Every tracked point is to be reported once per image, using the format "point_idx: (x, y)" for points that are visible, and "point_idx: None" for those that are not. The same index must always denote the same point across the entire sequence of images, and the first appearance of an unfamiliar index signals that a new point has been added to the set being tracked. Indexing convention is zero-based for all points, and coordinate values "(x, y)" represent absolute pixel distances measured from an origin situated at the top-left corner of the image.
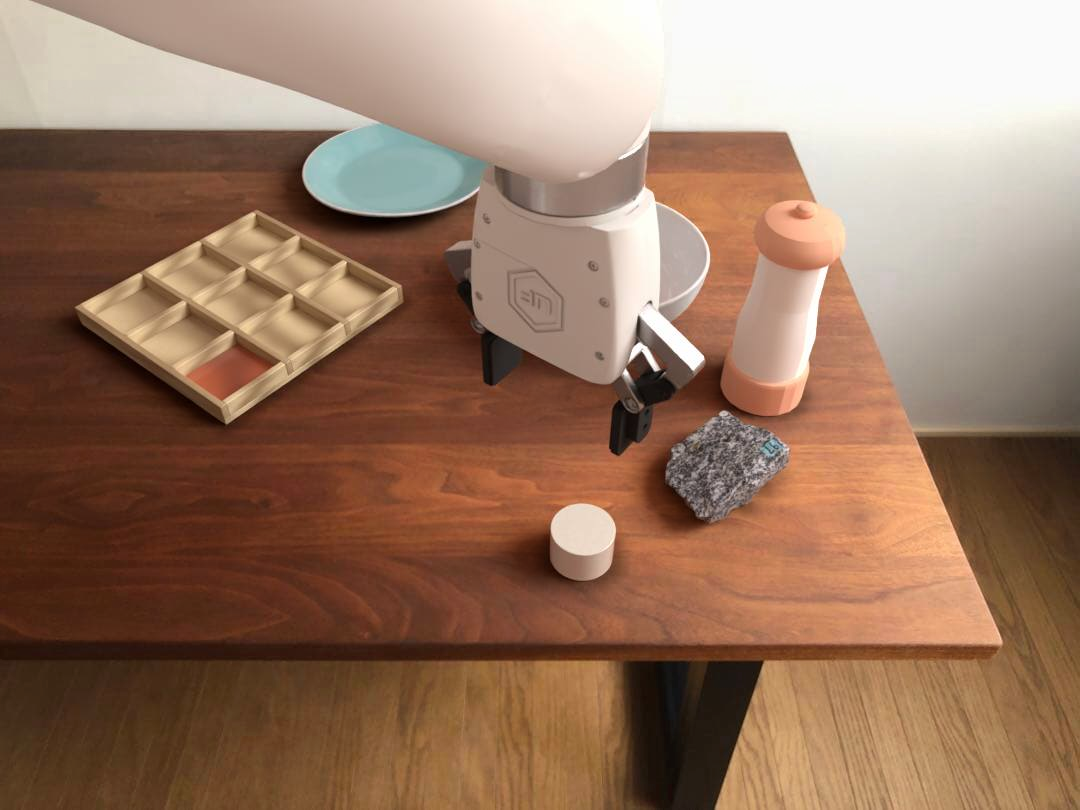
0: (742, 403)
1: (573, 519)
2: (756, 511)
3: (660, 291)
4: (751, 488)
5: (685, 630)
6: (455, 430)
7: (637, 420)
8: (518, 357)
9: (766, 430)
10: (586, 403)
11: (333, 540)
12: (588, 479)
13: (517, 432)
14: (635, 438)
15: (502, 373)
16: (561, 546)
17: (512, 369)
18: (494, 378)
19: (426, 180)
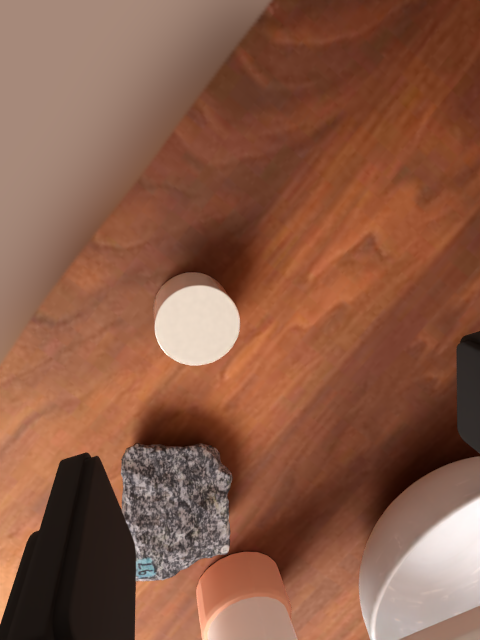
0: (232, 562)
1: (217, 325)
2: (116, 494)
3: (397, 579)
4: None
5: (31, 339)
6: (421, 301)
7: (6, 627)
8: (476, 440)
9: (168, 577)
10: (346, 437)
11: (408, 74)
12: (267, 378)
13: (370, 355)
14: (28, 546)
15: (471, 381)
16: (194, 287)
17: (460, 407)
18: (476, 355)
19: None
